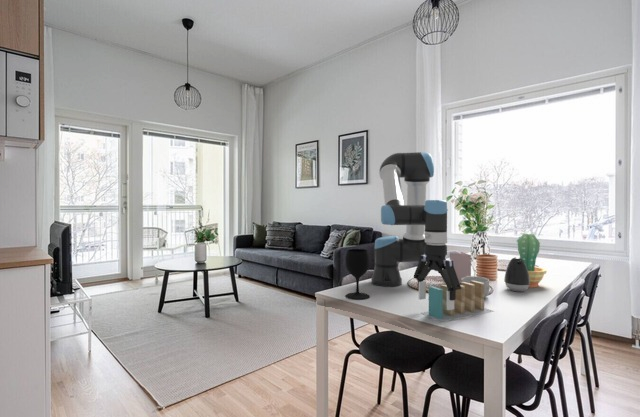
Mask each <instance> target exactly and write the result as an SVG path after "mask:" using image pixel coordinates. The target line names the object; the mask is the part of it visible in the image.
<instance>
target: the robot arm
mask: <svg viewBox="0 0 640 417" xmlns="http://www.w3.org/2000/svg"><path fill="white" fill-rule="evenodd" d="M434 173H435V166H434V161H433V156H432V155H431V154H430V153H429V152H424V151H423V152H421V151H420V152H419V151H418V152H395V153H392V154H391V155H389V156H388V157H386V158H385V159H384V160H383V162H382V163H381V164H380V167H379V177H380V179H381V180H382V188H383V196H384V197H383V199H384V205H382V206H381V207H380V223H381V224H382V225H387V226H388V225H389V226H406V229H405V230H406V231H405V233H404V234H403V235H402V238H399V236H397V235H390V236H389V235H388V236H382V237H378V238H376V239H375V241H374V268H373V272H372V276H371V279H370V280H371V282H370V283H371V284H373V285H375V286H380V287H397V286H401V285H403V279H402V277H401V273H400V269H399V263H407V264H408V263H411V264H413V263H414V264H415V263H416V264H417V266H416V267H415V268H416V269H415V272H414V274H413V278H414V279H416V281H417V289H418V300H426V299H427V297H426V296H427V294H426V293H427V290H426V289H427V288H426V287H427V285H426V283H427V281H426V278H427V276H428V275H429V274H430V272H431V271H435V272H437V273H438V274H440V276H441V278H442V281H443V282H444V285H447V287H448V290H447V310H452V309H454V300H455V299H456V290H459V289H461V286H460V285H461V284H460V283H459V280H458V277H457V275H456V272H455V269H454V264H453V260H450V259H447V258H446V256H448V246H447V243H448V211H449V210H448V202H447V200H444V199H427V200H426V195H427V194H426V193H427V184H429V183H430V179H431V178H433V177H434ZM401 178H402V179H403V178H404V179H403V180H404V183H406V184H407V185H406V186H407V187H406V188H407V189H406V191H407V195H406V197H407V198H406V204H405V201H404V196H403V189H402V184H401ZM451 286H452V287H451Z"/></svg>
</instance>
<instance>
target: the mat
mask: <svg viewBox="0 0 640 417" xmlns="http://www.w3.org/2000/svg"><path fill="white" fill-rule="evenodd" d="M492 312H494V310H492V309H489V308H487V307H484V310H478V309H475V312H469V311H466V310H465V314H459V313H456V312H454V316H449V315H446V314H444V313H443V318H440V319H438V318H436V317H434V316H431V315H429V311H424V312H420V314H421V315H423V316H426V317H428V318H431V319H433V320H435V321H437V322H440V323H443V322H447V321H453V320H457V319H461V318H462V319H464V318H467V317H472V316H477V315H482V314H486V313H487V314H488V313H492Z"/></svg>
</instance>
